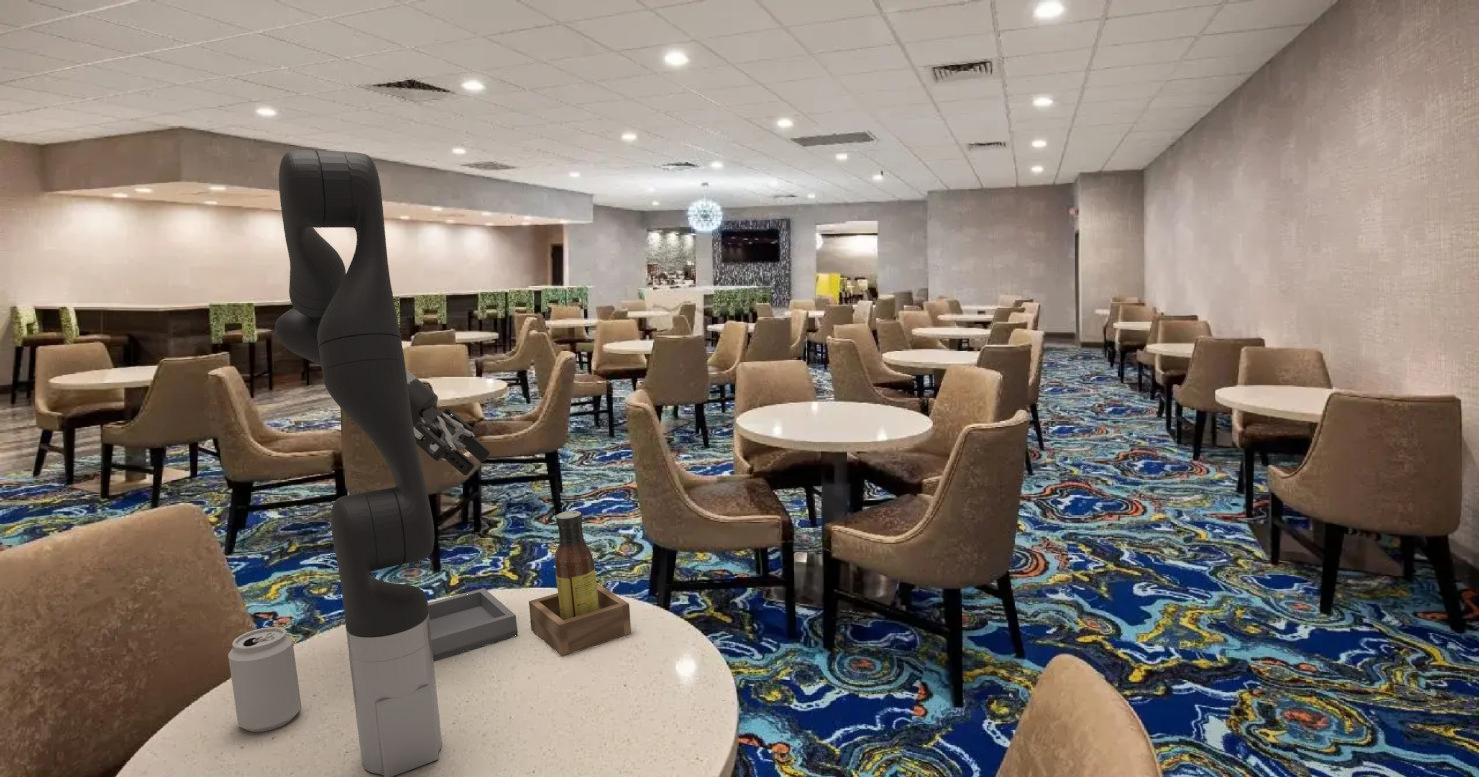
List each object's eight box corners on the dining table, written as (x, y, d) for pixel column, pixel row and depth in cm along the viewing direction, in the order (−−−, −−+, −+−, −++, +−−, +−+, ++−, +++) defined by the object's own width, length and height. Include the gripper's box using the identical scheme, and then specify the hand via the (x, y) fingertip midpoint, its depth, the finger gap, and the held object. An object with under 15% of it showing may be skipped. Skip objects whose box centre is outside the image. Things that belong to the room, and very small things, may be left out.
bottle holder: (631, 633, 132) (629, 603, 132) (561, 656, 126) (559, 625, 125) (597, 610, 142) (595, 582, 141) (531, 630, 135) (528, 601, 134)
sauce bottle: (605, 623, 137) (597, 507, 134) (595, 640, 130) (586, 519, 127) (566, 623, 137) (558, 508, 134) (555, 640, 131) (545, 520, 128)
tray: (517, 635, 133) (515, 615, 133) (422, 664, 125) (420, 643, 124) (485, 607, 145) (484, 588, 145) (396, 631, 137) (394, 611, 136)
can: (241, 714, 113) (230, 631, 111) (303, 700, 116) (293, 619, 114) (234, 741, 106) (222, 653, 104) (300, 725, 109) (289, 640, 107)
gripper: (396, 384, 120) (481, 457, 122) (430, 371, 134) (506, 437, 136) (363, 421, 121) (449, 493, 123) (400, 404, 135) (477, 470, 137)
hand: (479, 464), depth 129 cm, fingers open, 8 cm apart
